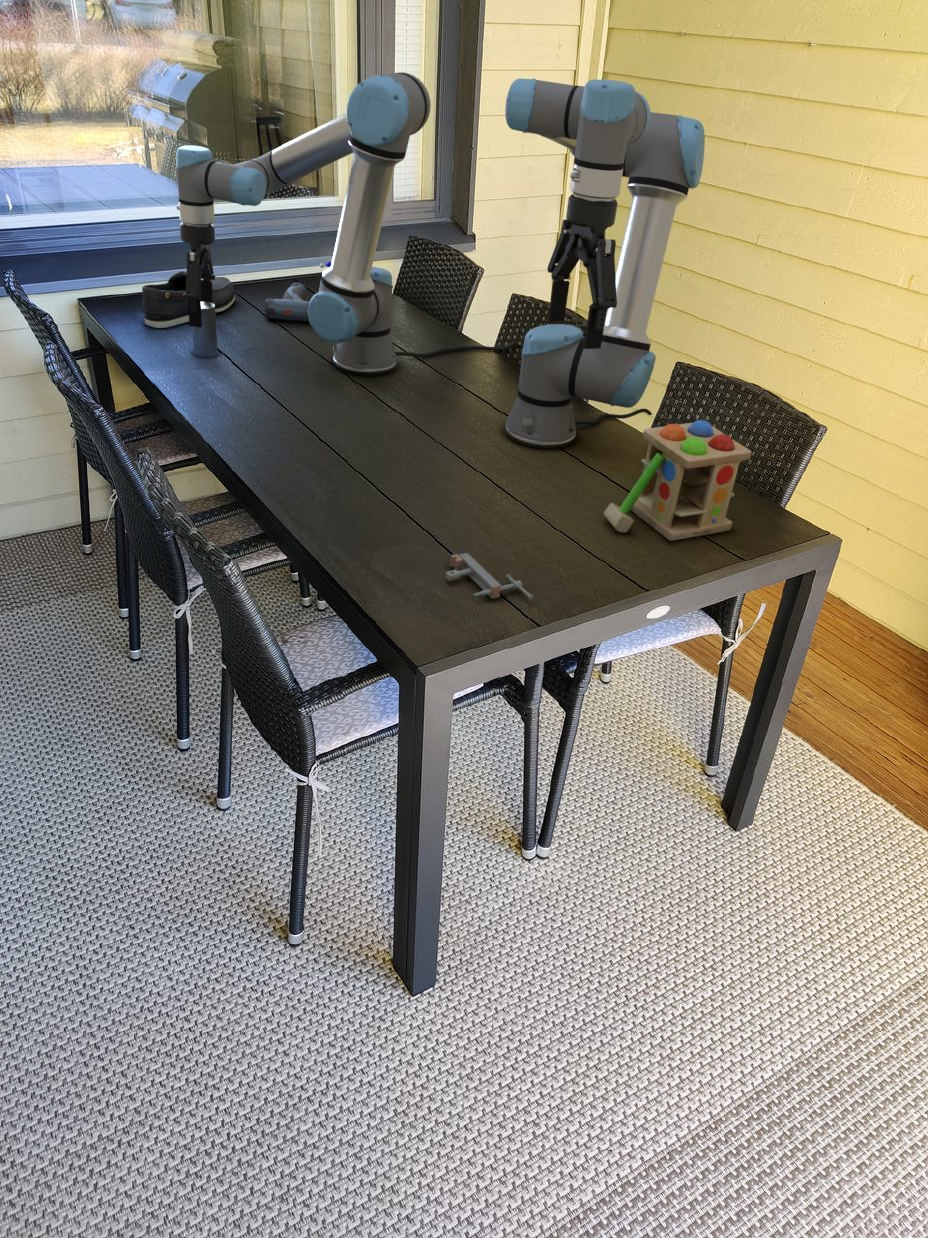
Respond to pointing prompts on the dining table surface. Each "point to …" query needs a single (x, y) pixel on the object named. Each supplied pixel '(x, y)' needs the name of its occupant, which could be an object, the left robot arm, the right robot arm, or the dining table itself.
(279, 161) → the left robot arm
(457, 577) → the clamp
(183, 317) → the boat shoe
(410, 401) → the dining table surface
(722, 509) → the pounding bench toy
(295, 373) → the dining table surface
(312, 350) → the dining table surface
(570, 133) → the right robot arm
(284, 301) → the power drill
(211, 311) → the tin
